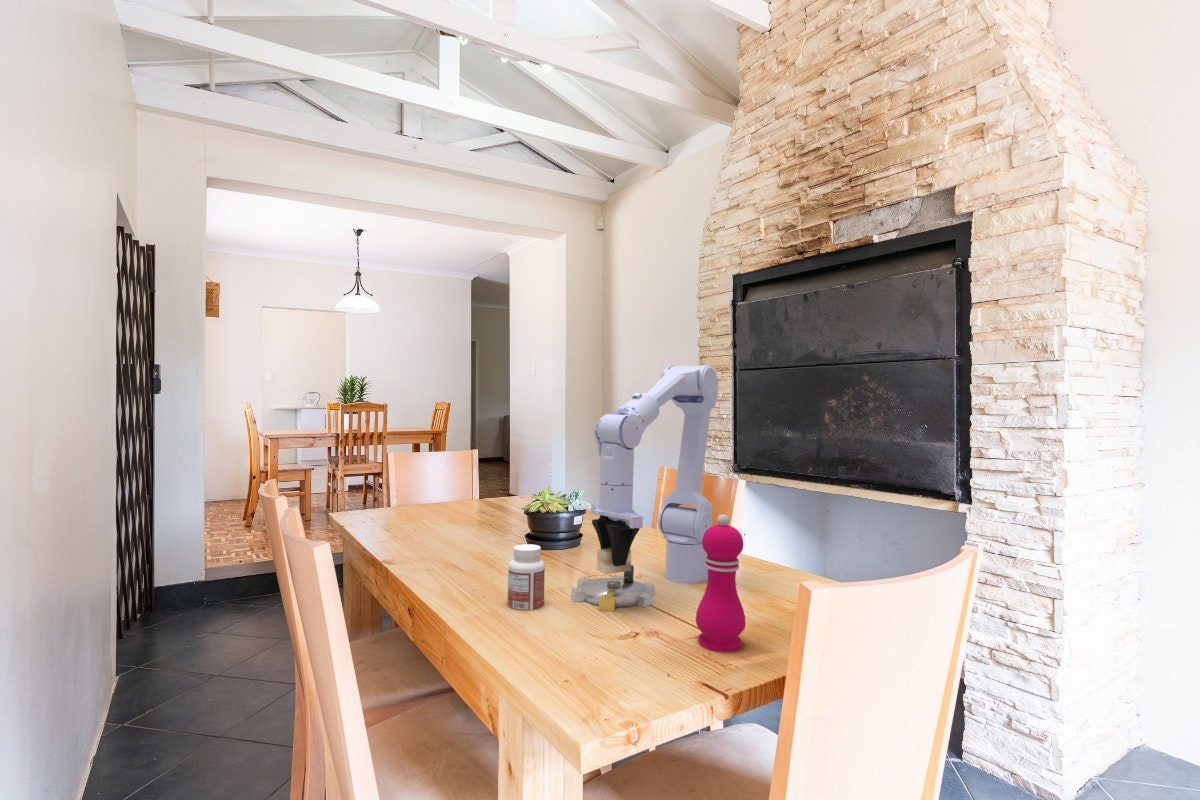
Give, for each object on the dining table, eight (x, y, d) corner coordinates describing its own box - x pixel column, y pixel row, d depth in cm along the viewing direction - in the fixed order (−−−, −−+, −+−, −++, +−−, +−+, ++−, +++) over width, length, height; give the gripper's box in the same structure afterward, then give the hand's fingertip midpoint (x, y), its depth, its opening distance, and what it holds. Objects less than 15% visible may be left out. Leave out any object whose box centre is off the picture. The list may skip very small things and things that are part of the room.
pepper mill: (734, 664, 88) (738, 520, 88) (686, 652, 92) (690, 514, 92) (751, 648, 94) (755, 514, 94) (706, 637, 98) (709, 508, 98)
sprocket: (582, 582, 122) (582, 557, 122) (656, 587, 120) (656, 562, 120) (564, 607, 107) (565, 579, 107) (649, 614, 104) (650, 585, 104)
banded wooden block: (622, 566, 111) (622, 546, 111) (630, 570, 109) (631, 550, 109) (596, 569, 109) (597, 549, 109) (605, 574, 106) (605, 553, 106)
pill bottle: (536, 604, 112) (538, 541, 112) (549, 615, 106) (551, 549, 106) (502, 608, 109) (504, 544, 109) (513, 620, 103) (515, 552, 104)
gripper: (577, 479, 113) (574, 555, 113) (617, 490, 101) (614, 575, 101) (611, 478, 117) (609, 551, 117) (654, 488, 104) (652, 571, 104)
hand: (614, 562), depth 109 cm, fingers closed on banded wooden block, 3 cm apart
